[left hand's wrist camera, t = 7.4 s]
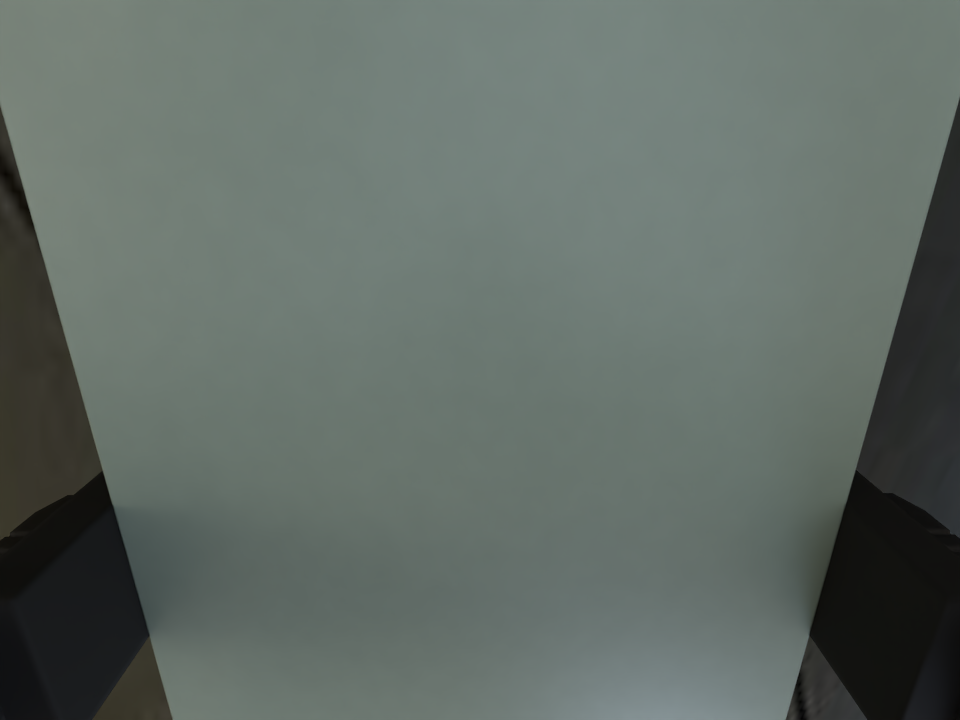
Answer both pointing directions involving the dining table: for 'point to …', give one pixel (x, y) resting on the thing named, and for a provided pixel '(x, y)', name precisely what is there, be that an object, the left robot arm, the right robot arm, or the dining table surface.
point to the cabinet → (479, 331)
